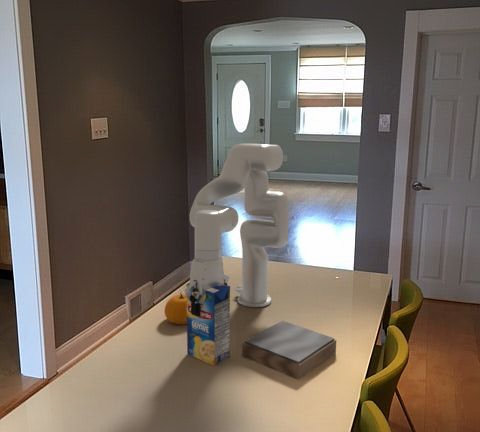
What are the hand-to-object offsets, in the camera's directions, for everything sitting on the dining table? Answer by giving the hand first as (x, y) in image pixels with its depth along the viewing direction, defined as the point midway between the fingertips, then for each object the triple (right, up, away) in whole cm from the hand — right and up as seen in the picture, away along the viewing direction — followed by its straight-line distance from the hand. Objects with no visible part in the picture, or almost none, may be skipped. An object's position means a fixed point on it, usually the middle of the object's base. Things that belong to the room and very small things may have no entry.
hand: (207, 310), depth 149 cm
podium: (+24, -14, +4) cm, 28 cm away
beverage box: (0, -14, +4) cm, 15 cm away
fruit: (-11, -9, +28) cm, 31 cm away
